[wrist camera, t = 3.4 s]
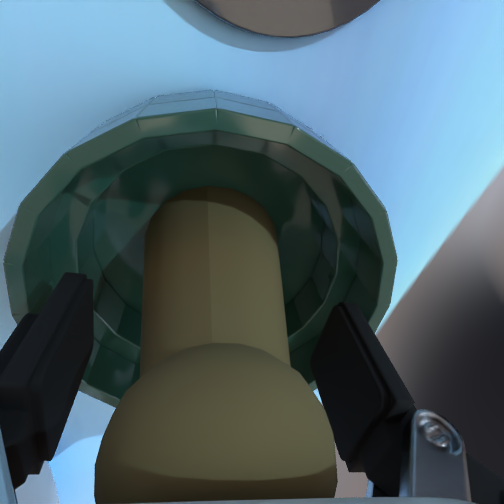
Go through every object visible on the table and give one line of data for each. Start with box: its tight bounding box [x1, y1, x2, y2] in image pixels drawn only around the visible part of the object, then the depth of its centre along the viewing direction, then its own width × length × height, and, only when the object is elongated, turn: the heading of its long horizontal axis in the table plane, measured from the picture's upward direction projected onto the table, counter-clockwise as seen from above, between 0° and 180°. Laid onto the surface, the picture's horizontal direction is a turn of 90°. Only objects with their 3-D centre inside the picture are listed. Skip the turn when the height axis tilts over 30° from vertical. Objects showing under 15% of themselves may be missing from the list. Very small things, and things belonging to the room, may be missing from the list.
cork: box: [94, 186, 338, 504], centre depth 11 cm, size 6×6×11 cm
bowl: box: [3, 90, 397, 408], centre depth 14 cm, size 13×13×4 cm
